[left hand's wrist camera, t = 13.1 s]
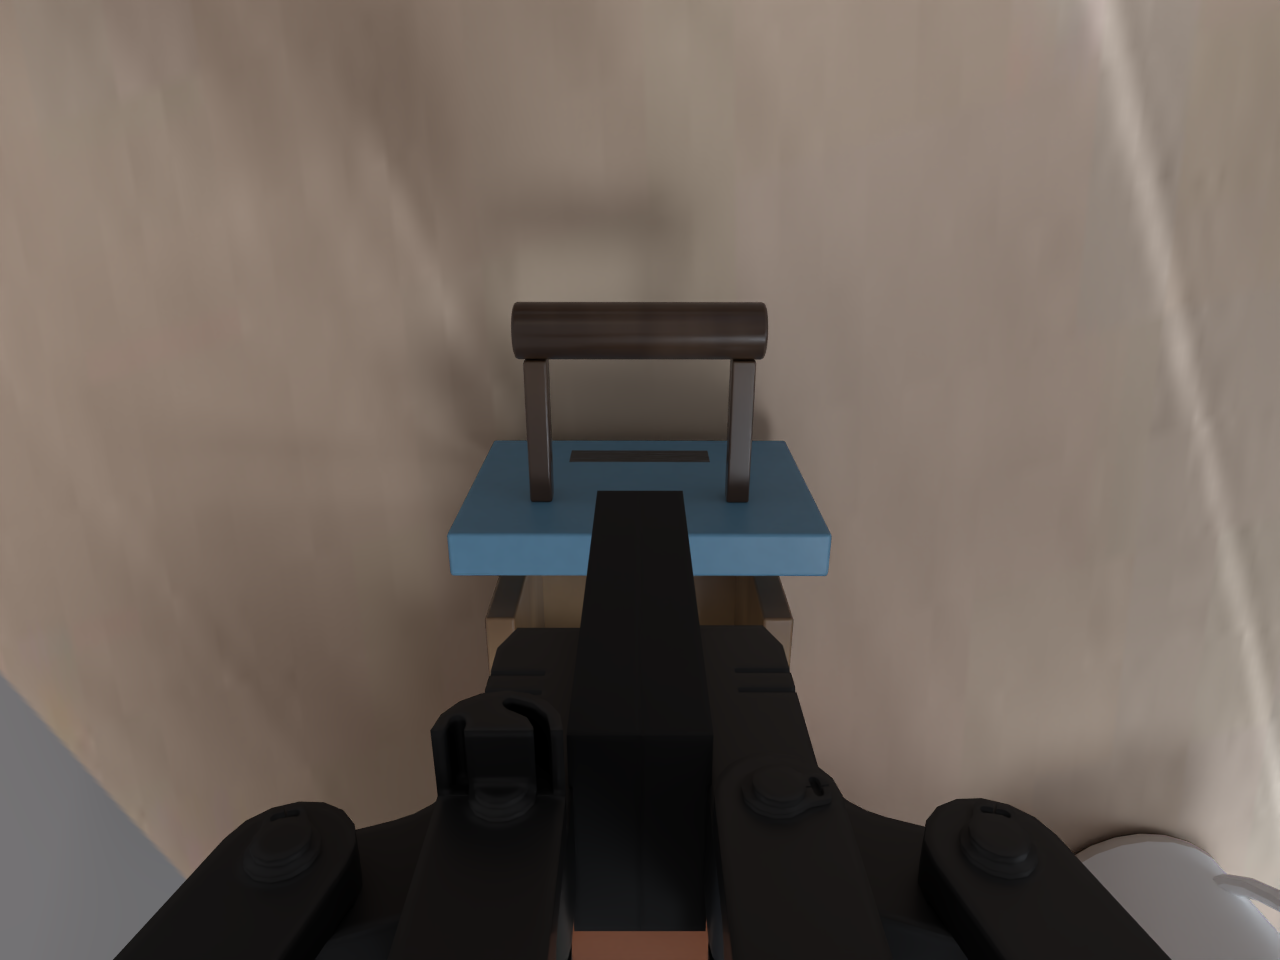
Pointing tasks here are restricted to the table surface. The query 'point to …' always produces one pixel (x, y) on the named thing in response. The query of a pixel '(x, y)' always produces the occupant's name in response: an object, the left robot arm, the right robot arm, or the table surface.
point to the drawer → (638, 477)
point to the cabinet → (640, 945)
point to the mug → (1186, 898)
